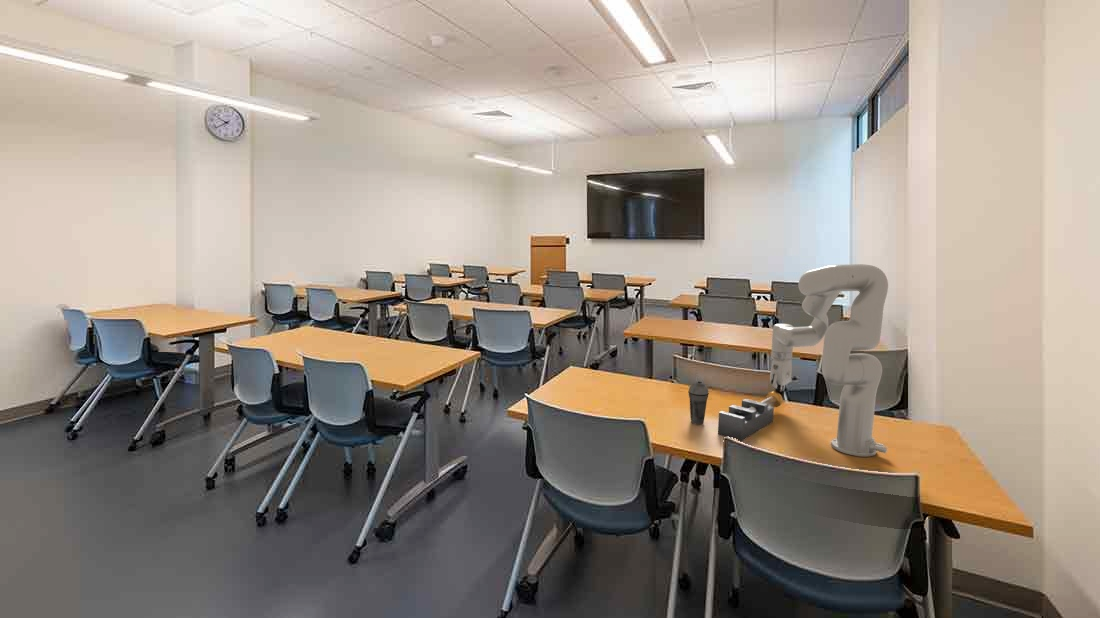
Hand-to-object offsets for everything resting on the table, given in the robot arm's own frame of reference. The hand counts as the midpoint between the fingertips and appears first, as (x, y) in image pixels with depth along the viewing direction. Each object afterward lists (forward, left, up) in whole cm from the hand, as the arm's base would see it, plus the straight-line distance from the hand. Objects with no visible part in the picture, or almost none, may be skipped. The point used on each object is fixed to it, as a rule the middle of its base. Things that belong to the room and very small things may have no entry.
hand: (778, 400), depth 196 cm
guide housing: (0, +28, -4) cm, 28 cm away
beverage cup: (+15, +36, -4) cm, 39 cm away
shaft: (0, +16, -2) cm, 16 cm away
